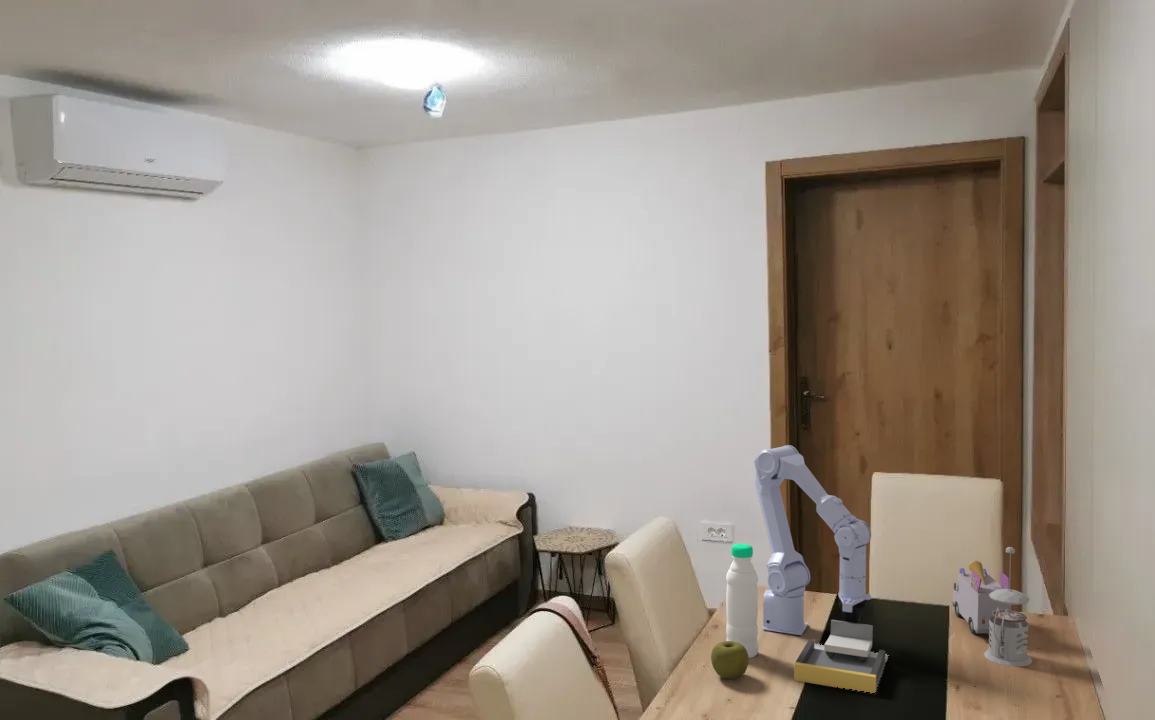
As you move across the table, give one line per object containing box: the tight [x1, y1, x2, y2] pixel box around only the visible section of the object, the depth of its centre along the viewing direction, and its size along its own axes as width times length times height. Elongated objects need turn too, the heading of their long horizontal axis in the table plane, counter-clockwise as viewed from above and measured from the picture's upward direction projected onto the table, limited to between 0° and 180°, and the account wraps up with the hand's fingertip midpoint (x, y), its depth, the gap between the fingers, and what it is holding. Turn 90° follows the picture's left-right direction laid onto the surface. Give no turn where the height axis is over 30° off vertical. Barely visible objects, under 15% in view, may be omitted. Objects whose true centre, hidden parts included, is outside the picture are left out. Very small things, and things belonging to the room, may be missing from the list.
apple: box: [710, 640, 749, 680], centre depth 197 cm, size 8×8×7 cm
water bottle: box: [725, 543, 759, 659], centre depth 208 cm, size 7×7×25 cm
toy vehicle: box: [951, 560, 1012, 635], centre depth 224 cm, size 9×20×15 cm, turn 174°
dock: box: [793, 638, 890, 694], centre depth 201 cm, size 16×22×4 cm
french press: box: [983, 546, 1033, 668], centre depth 204 cm, size 10×12×25 cm
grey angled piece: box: [824, 619, 874, 662], centre depth 205 cm, size 9×10×6 cm
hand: (851, 633), depth 211 cm, fingers closed
